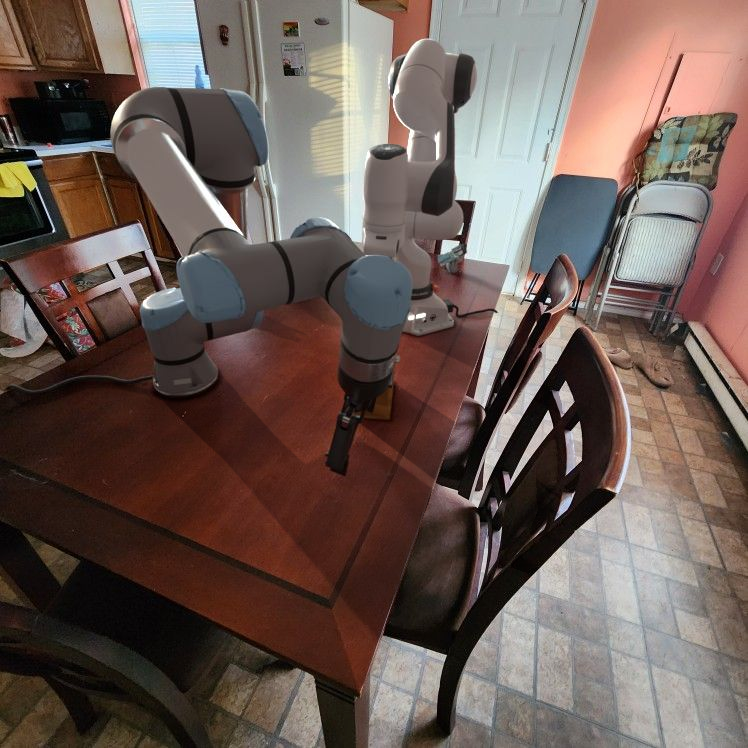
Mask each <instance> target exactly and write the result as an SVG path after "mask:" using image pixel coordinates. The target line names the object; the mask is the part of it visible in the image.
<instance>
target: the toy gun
mask: <svg viewBox="0 0 748 748" xmlns="http://www.w3.org/2000/svg"><path fill="white" fill-rule="evenodd" d="M467 249H468V244H467V243H465V242H464V243H460V244H459V245H456V246H455V247H453V248H451V250H450V251H448V252H446V253H441V254H436V255H437V263H438V264H439V265H440V268H442V267H443V268H444V267H446V269H447V273H452V274H453V273H454V274H455V273H457V272H458V264H460V263H462V262H463V260H464V256H465V255H466V254H467V253H468V250H467Z"/></svg>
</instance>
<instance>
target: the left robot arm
mask: <svg viewBox="0 0 748 748" xmlns="http://www.w3.org/2000/svg"><path fill="white" fill-rule="evenodd" d="M110 143H111V147H112V150H113V153H114V155H115V157H116V159H117V161H118V162H119V165H120V166H121V168H122V169H123V171H124V172H125V173H126V174H127V175H128V176H129V177H131V178H132V179H133V180H134V181H136V182H138V183H139V184H140V187H141V188H142V190H143V192H144V193H145V194H146V196H147V198H148V200H149V201H150V203H151V204H152V206H153V208H154V210H155V211H156V214H157V215H158V216H159V219H160V220H161V222H162V223H163V224H164V226H165V229H167V231H168V233H169V235H170V237H171V238H172V240H173V242H174V243H175V245H176V246H177V248H178V250H179V252H180V254H181V256H182V257H180V258H179V259H178V260H177V262H176V276H177V281H178V285H179V287H178V288H176V287H172V288H171V287H170V288H166V289H163V290H160V291H157V292H154V293H153V294H151V295H149V296H147V297H146V298H145V299H144V300H143V301H142V303H141V304H140V308H139V315H140V319H141V326H142V328H143V329H144V331H145V334H146V335H145V336H146V339H147V341H148V345H149V349H150V351H151V354H152V357H153V360H154V361H153V362H154V363H153V374H152V375H147V376H141V377H137V378H133V379H121V378H117V377H114V376H109V375H82V376H81V375H80V376H76V377H71V378H68V379H65V380H63V381H60V382H58V383H56V384H53V385H51V386H49V387H46V388H43V389H38V390H30V389H26V388H24V387H21V386H19V385H17V384H14V383H12V384H9V385H7V386H6V387H5V388H4V391H10V390H12V389H14V388H16V389H15V390H16V391H18V392H20V393H23V394H26V395H31V396H35V395H36V396H37V395H42V394H46V393H50V392H51V391H54V390H56V389H58V388H61V387H63V386H65V385H68V384H70V383H74V382H80V381H86V380H101V381H102V380H103V381H111V382H116V383H119V384H125V385H126V384H127V385H131V384H136V383H140V382H145V381H150V380H152V385H153V388H154V391H155V392H156V393H157V394H158V395H159V396H161V397H163V398H166V399H171V400H184V399H190V398H193V397H197V396H200V395H202V394H204V393H207V392H208V391H210V390H211V389H213V387H215V386H216V384H217V383H218V381H219V378H220V375H219V370H218V367H217V365H216V364H215V363H214V362H213V360H212V358H211V357H210V355H209V354H208V352H207V351H206V347H205V342H209V341H213V340H217V339H221V338H225V337H229V336H233V335H237V334H241V333H246V332H248V331H250V330H253V329H256V328H258V327H259V326H260V324H261V323H262V322H263V318H264V311H268V310H271V309H274V308H275V309H276V308H279V307H282V306H286V305H291V304H295V303H300V302H304V301H308V300H312V299H315V298H320V297H321V298H322V299H323V300H324V301H325V302H326V304H328V305H329V307H330V308H331V309H332V310H333V312H335V314H336V315H338V317H339V319H340V320H341V335H340V336H341V337H340V342H339V353H338V367H337V382H338V385H339V387H340V388H341V390H342V391H343V393H344V396H343V400H344V402H343V404H342V408H341V410H340V412H338V414H337V416H336V423H335V428H334V432H333V436H332V438H331V439H332V440H331V443H330V446H329V450H327V452H326V453H325V457H326V460H325V465H324V466H325V467H327V468H329V471H331V472H333V473H335V474H337V475H340V476H343V477H346V476H347V473H348V469H349V463H350V458H351V457H350V456H351V454H349V453H350V451H351V448H352V445H353V442H354V439H355V436H356V433H357V430H358V428H359V427H358V426H359V425H360V424H362V423H363V422H364V420H365V418H364V417H365V414H366V411H368V412H371V413H373V411H374V408H375V403H376V399H377V397H379V396H381V395H382V394H383V393H384V392H385V391H386V390H387V388H388V386H389V383H390V379H391V375H392V371H393V366H394V362H395V364H399V363H400V361H401V356H400V355H397V353H398V350H399V347H400V343H401V338H402V334H403V333H404V332H403V328H404V325H405V322H406V319H407V316H408V314H409V311H410V305H411V303H410V301H411V295H412V289H413V280H412V276H411V274H410V272H409V270H408V269H407V268H406V267H405V266H404V265H403V264H402V263H400V262H399V261H394V260H393V261H392V260H391V259H390V257H387V256H383V255H368V256H366V255H365V254H364V253H363V250H361V249H360V247H358V245H357V244H356V243H355V242H354V241H353V240H352V237H350V236H349V234H348V233H347V232H346V231H343V230H342V228H340V227H338V226H337V224H335V223H334V222H333V221H332V220H330V219H328V218H326V217H325V218H324V217H320V216H319V217H318V216H317V217H311V218H309V219H306V221H305V222H303V223H302V224H298V225H297V226H296V227H295V229H293V232H292V233H291V234H290V237H289V238H287V239H281V240H280V239H279V240H274V241H267V242H262V243H255V244H251V243H250V242H249V241H248V188H249V187H251V186H252V185H253V184H254V183H255V181H256V167H262V166H264V165H266V164H267V161H268V160H269V155H270V154H269V153H270V151H269V150H270V149H269V147H270V146H269V138H268V134H267V129H266V126H265V122H264V120H263V116H262V114H261V111H260V109H259V107H258V106H257V104H256V102H255V100H254V99H253V98H252V97H251V96H250V95H249V94H248V93H246V92H245V91H242V90H235V89H226V88H225V87H220V88H202V87H201V88H200V87H166V86H151V87H146V88H143V89H141V90H138V91H136V92H134V93H132V94H131V95H130V96H128V97H127V98H125V100H124V101H122V103H121V104H120V105H119V107H118V108H117V110H116V111H115V113H114V115H113V118H112V119H111V126H110ZM361 411H362V412H361ZM354 412H355V413H358V412H361V415H360V416H357V415H355V414H354Z"/></svg>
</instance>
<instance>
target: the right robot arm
mask: <svg viewBox="0 0 748 748" xmlns="http://www.w3.org/2000/svg"><path fill="white" fill-rule="evenodd" d="M477 81H478V71H477V67H476V61H475V59H474V57H473V56H472V55H469V54H466V53H464V52H463V53H462V52H459V54H458V53H452V52H446V51H445V49H444V47H443V46H442V45H441V43H439V42H438V41H437V40H436V39H432V38H422V39H419V40H417V41H416V42H415V43H414V44H413V45H411V47H410V49H409V50H408V52H407V53H405V54H402V55H401V54H400V55H399V56H397V57H395V59H394V60H393V61H392V63H391V65H390V69H389V73H388V89H389V94H390V96H391V98H392V100H393V101H392V103H393V109H394V112H395V115H396V117H397V118H398V120H399V121H400V122H401V124H403V126H404V127H406V128H407V129H409V130H410V132H409V137H408V144H407V149H406V147H404V146H402V145H400V144H396V143H381V144H376V145H373V146H372V147H371V148H369V149H368V151H367V154H366V160H365V165H364V166H365V167H364V172H363V181H362V183H363V184H362V199H363V204H364V210H363V214H362V219H361V222H362V223H361V244H362V252H363V253H364V254H365V255H366V256H368V255H383V256H387V257H390V259H391V260H392V261H399V262H400V263H402V264H403V265H404V266H405V267H406V268H407V269H408V270H409V272H410V274H411V276H412V280H413V289H412V295H411V301H410V303H411V305H410V311H409V314H408V316H407V319H406V322H405V325H404V328H403V332H402V333H408V334H411V335H413V336H417V337H420V336H423V335H428V334H431V333H435V332H438V331H443V330H445V329H450V328H453V327H454V326H455V319H454V318H453V317H452V316H451V315H450V313H454V309H455V317H457V318H464V317H467V316H472V315H475V314H481V313H482V314H483V313H486V312H494V314H498V313H499V312H498V310H497V309H495V308H485V309H480V310H475V311H470V312H466V313H463V314H459V309H460V307H458V306H457V305H456V304H454V303H453V301H451V300H450V299H449V298H445V299H444V298H443V299H442V298H441V297H440V296H438V295H437V294H438V293H439V292H440V290H441V289H440V286H438V285H437V284H434V283H433V281H431V280H430V278H431V270H432V259H431V255H429V253H428V252H427V251H425V250H424V249H423V248H421V247H420V246H419V245H417V244H416V241H415V239H422V240H431V241H446V240H453V239H455V237H457V236H458V235H459V233H460V232H461V230H462V229H463V225H464V211H463V209H462V207H461V205H460V204H459V203H458V201H456V197H457V192H458V179H457V174H456V165H455V164H456V162H455V160H456V126H455V124H456V123H455V122H456V121H455V119H456V118H455V114H457V113H458V112H459V109H461V108H462V107H464V106H465V105H466V104H467V103H468V102H469V101H470V100H471V98H472V95H473V93H474V91H475V88H476V84H477ZM436 293H437V294H436Z"/></svg>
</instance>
